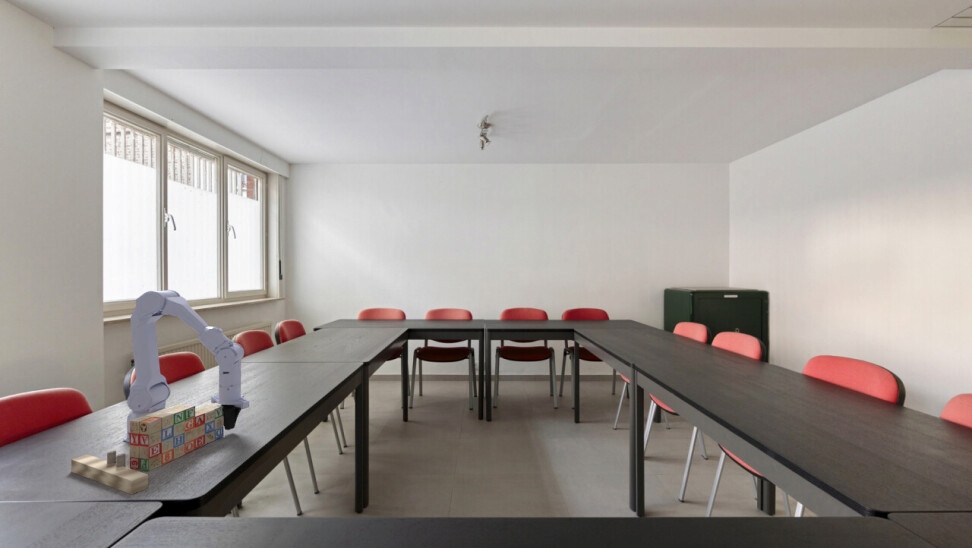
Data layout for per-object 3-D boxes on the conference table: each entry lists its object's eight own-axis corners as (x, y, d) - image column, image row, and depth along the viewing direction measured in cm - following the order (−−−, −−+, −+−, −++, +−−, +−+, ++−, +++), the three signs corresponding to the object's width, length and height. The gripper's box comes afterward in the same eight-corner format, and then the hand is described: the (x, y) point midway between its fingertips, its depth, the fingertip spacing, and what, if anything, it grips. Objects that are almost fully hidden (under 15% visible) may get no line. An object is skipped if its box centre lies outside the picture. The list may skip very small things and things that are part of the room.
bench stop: (71, 471, 96) (71, 449, 96) (91, 464, 99) (91, 443, 99) (131, 494, 86) (132, 469, 86) (152, 486, 89) (152, 462, 89)
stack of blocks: (206, 434, 118) (207, 394, 118) (224, 436, 117) (224, 395, 117) (128, 469, 97) (129, 419, 97) (148, 471, 96) (148, 421, 96)
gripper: (258, 383, 120) (258, 427, 120) (227, 378, 126) (226, 420, 126) (236, 389, 114) (236, 436, 114) (204, 384, 119) (204, 428, 119)
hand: (229, 428), depth 119 cm, fingers closed
